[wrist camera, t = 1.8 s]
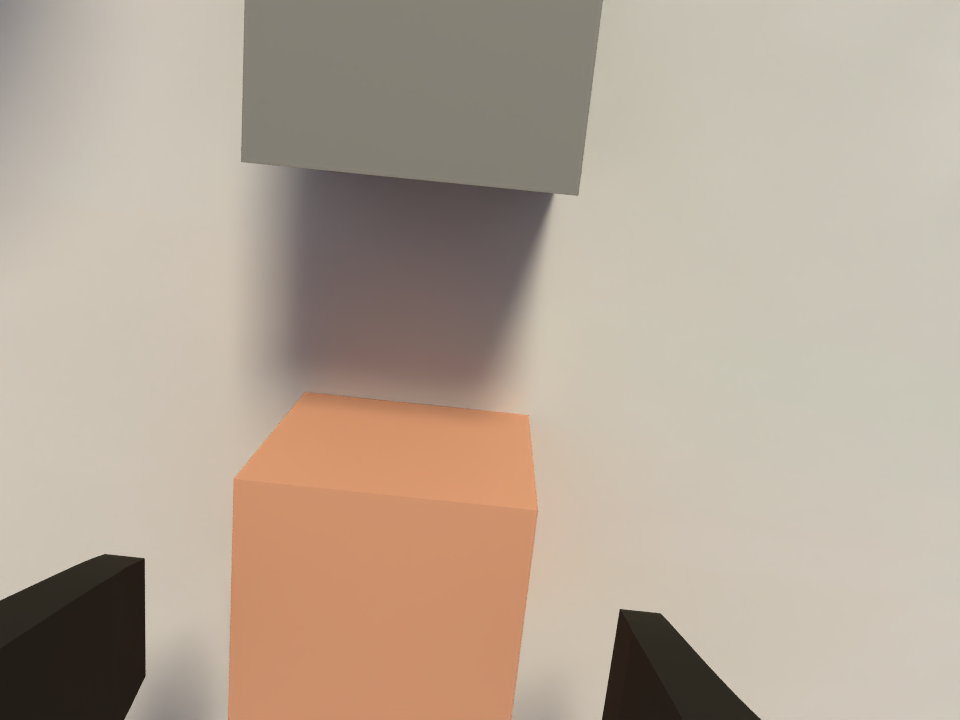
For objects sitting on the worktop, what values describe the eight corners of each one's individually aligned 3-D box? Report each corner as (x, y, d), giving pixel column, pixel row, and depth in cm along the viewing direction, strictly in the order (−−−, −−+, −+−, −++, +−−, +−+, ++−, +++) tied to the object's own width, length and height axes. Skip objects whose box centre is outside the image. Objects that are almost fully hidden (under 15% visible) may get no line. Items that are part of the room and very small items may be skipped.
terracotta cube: (504, 611, 17) (505, 765, 13) (296, 590, 17) (228, 737, 13) (528, 414, 16) (537, 510, 12) (306, 390, 16) (233, 478, 12)
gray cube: (556, 183, 15) (578, 196, 11) (316, 159, 15) (241, 161, 11) (587, -82, 14) (626, -188, 10) (328, -107, 14) (250, -227, 10)
